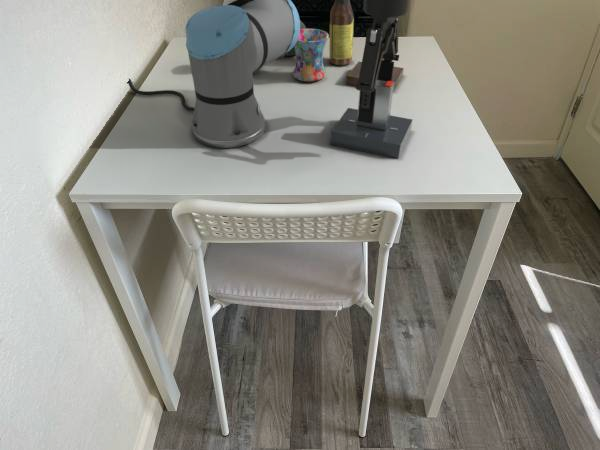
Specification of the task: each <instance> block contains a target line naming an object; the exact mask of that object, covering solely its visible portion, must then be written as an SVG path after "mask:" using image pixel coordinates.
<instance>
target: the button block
mask: <svg viewBox="0 0 600 450" xmlns="http://www.w3.org/2000/svg"><path fill="white" fill-rule="evenodd" d="M361 64H362V61H357V62H356V64H355V65H354V66H353V68H351V70H350V71H349V73H348V74H347V75H346V81H345V82H346V83H345V85H349V86H354V87H356V84H357V85H358V80H359V75H360V69H361ZM378 75H379V73H378ZM403 76H404V67H399V66H394V68H393V76H392V81H393V82H394V89H393V92H395V90H396V88H397V87H398V85H399V83H400V81H401V79H402V78H403ZM377 80H378V77H377Z"/></svg>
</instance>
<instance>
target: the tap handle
mask: <svg viewBox="0 0 600 450" xmlns="http://www.w3.org/2000/svg"><path fill="white" fill-rule="evenodd" d="M375 89H376V98H375V107H374V116H373V123H372V124H370V123H365V122H360V121H358V116H357V125H359V126H364V127H370V128H375V129H380V130H386V129H387V127H388V125H389V119H390V115H391V110H392V104H393V97H394V91H393V89H394V82H393V81H388V82H387V81H381V80H377V81H376V85H375ZM359 101H360V91H359V93H358V102H359ZM357 106H358V107H357V110H358V113H359V103H358V105H357Z"/></svg>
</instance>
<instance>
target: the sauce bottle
mask: <svg viewBox="0 0 600 450" xmlns="http://www.w3.org/2000/svg"><path fill="white" fill-rule="evenodd" d="M354 22H355V15H354V11H353V8H352V4H351V0H334V3H333V5H332V6H331V8H330V13H329V62H330V63H331V64H332V65H335V66H347V65H350V64H351V63H352V61H353V55H354V53H353V51H354V48H353V47H354V29H355V28H354V26H355V23H354Z"/></svg>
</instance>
